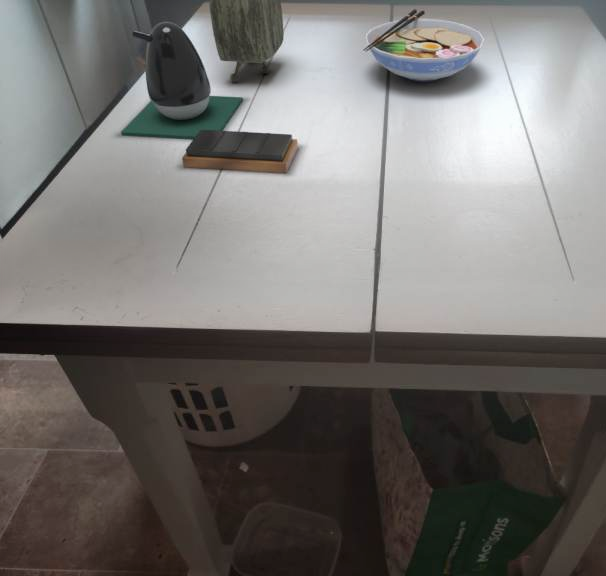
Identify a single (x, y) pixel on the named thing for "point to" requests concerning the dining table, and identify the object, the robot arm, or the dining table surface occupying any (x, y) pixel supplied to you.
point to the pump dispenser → (174, 72)
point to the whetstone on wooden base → (241, 151)
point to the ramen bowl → (423, 47)
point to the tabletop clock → (247, 31)
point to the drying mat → (164, 127)
